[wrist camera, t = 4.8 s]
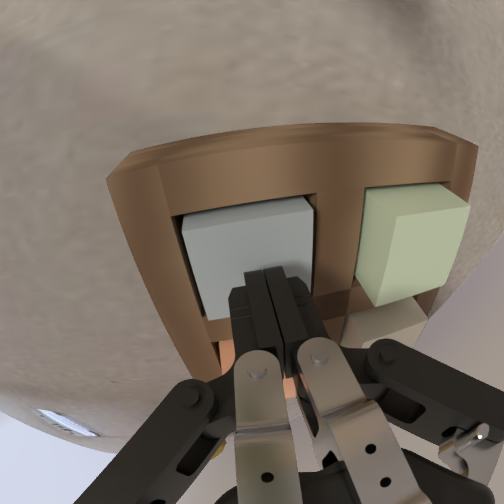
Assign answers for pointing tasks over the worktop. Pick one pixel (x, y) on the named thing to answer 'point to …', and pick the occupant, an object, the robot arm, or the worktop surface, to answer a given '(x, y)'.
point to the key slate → (247, 245)
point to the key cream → (384, 324)
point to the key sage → (408, 239)
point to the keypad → (270, 187)
